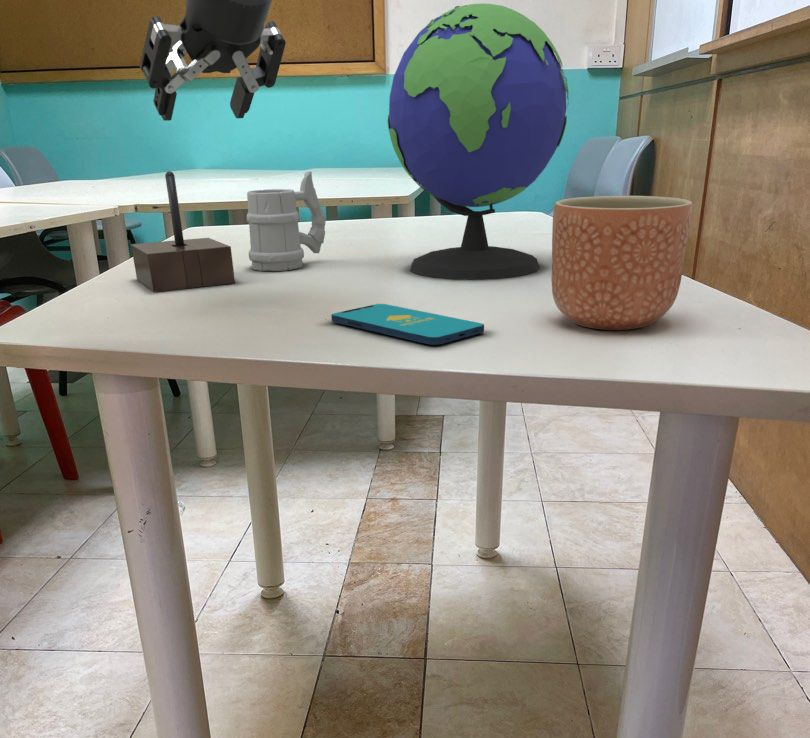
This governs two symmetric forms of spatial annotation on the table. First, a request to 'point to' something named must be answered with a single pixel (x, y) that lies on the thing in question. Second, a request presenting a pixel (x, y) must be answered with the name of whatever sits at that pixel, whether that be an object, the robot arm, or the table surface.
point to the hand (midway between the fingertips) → (200, 113)
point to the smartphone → (408, 323)
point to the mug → (283, 226)
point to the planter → (618, 258)
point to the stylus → (174, 208)
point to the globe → (477, 125)
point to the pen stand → (183, 264)
